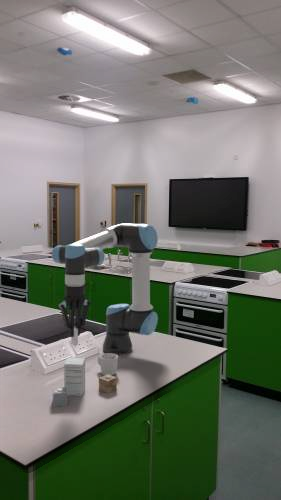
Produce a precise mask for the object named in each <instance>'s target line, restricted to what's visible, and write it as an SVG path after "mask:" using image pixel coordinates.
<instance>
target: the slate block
mask: <svg viewBox="0 0 281 500" xmlns="http://www.w3.org/2000/svg"><path fill="white" fill-rule="evenodd" d="M52 406H53V408H54V407H55V408H56V407H65V406H66V407H67V406H68V395H67V389H66V387H64V386H63V387H52Z"/></svg>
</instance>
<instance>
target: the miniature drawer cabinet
mask: <svg viewBox="0 0 281 500" xmlns="http://www.w3.org/2000/svg"><path fill="white" fill-rule="evenodd" d="M63 365H64V367H63V370H64V371H63V379H64V382H63V383H64V386H63V387H66V389H67V396H77V397H78V396H80V397H81V396H84V393H85V391H86V390H85V389H86V358H85V357H67V358H66V360H65V362H64V364H63Z"/></svg>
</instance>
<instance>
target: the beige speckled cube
mask: <svg viewBox="0 0 281 500" xmlns="http://www.w3.org/2000/svg"><path fill="white" fill-rule="evenodd" d="M117 380H118V378H117V377H116V376H115V375H112V376H111V375H109V374H107V375H102V376H100V377H98V390H99V391H101V392H104V393H106V394H110V393H112V392H113V391H116V390H117V383H118V382H117Z"/></svg>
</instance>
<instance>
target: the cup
mask: <svg viewBox="0 0 281 500" xmlns="http://www.w3.org/2000/svg"><path fill="white" fill-rule="evenodd" d="M118 360H119V354H113V353H106V352H105V353H102V354H101V355H99V356H98V357H97V363H98V365H99V366H100V372H101V374H102V376H104V375H107V374H109V375H111V376H115V375H116V374H117V369H118Z"/></svg>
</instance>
